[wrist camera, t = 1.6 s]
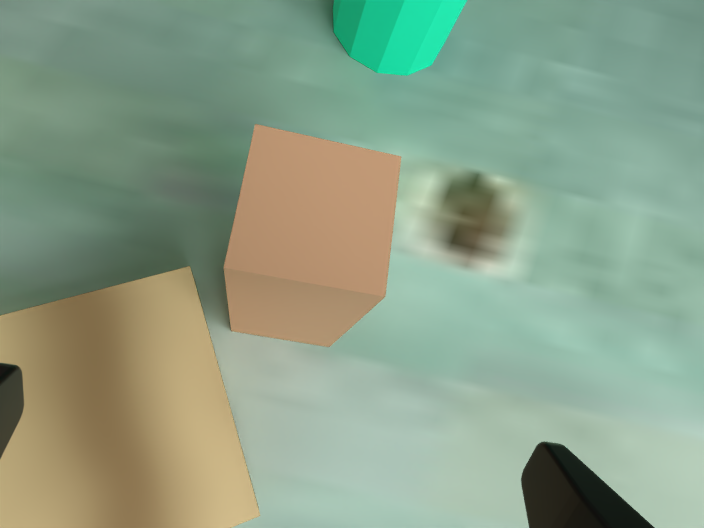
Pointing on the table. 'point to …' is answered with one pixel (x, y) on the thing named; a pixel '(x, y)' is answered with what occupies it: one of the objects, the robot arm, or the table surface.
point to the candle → (394, 31)
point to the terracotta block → (309, 237)
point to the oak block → (121, 414)
